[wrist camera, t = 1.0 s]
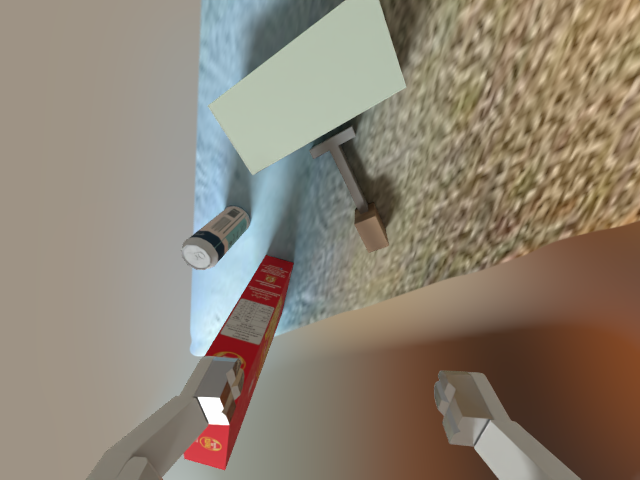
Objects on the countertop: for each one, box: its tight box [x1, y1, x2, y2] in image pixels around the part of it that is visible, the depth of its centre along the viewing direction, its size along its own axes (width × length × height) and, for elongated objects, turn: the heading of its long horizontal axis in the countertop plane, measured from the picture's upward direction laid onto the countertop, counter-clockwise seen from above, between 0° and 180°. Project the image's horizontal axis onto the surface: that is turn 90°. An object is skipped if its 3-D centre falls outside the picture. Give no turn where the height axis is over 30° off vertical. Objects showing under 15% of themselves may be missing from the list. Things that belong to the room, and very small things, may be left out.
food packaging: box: [184, 255, 294, 470], centre depth 36 cm, size 15×5×25 cm, turn 166°
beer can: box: [181, 206, 250, 270], centre depth 35 cm, size 5×5×12 cm
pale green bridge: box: [208, 0, 406, 175], centre depth 26 cm, size 18×8×8 cm, turn 118°
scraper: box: [309, 125, 389, 253], centre depth 33 cm, size 6×16×5 cm, turn 28°
